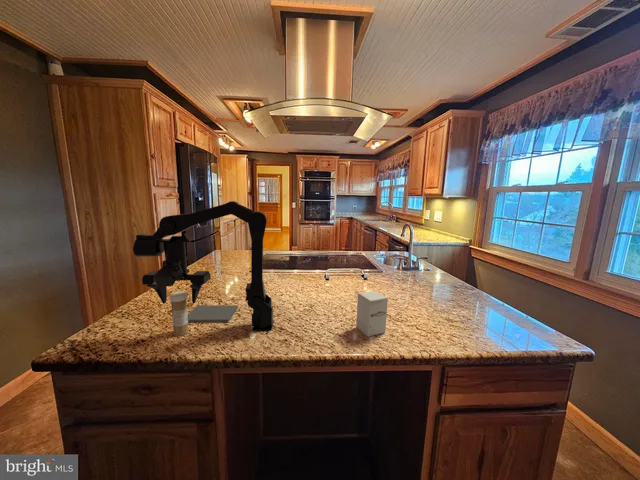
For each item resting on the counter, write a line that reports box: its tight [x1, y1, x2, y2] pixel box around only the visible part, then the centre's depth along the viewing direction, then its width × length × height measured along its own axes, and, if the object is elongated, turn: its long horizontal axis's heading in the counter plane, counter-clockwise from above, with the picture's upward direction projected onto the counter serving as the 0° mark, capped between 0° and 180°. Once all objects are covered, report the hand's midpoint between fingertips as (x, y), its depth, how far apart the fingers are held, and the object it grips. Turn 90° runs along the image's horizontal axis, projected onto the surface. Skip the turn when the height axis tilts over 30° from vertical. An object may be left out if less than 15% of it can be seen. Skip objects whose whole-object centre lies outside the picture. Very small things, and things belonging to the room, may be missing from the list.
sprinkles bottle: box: [169, 291, 190, 336], centre depth 80 cm, size 5×5×14 cm
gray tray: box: [188, 304, 239, 323], centre depth 94 cm, size 16×12×1 cm
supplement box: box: [355, 290, 389, 338], centre depth 84 cm, size 7×7×13 cm
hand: (179, 303), depth 80 cm, fingers open, 9 cm apart
